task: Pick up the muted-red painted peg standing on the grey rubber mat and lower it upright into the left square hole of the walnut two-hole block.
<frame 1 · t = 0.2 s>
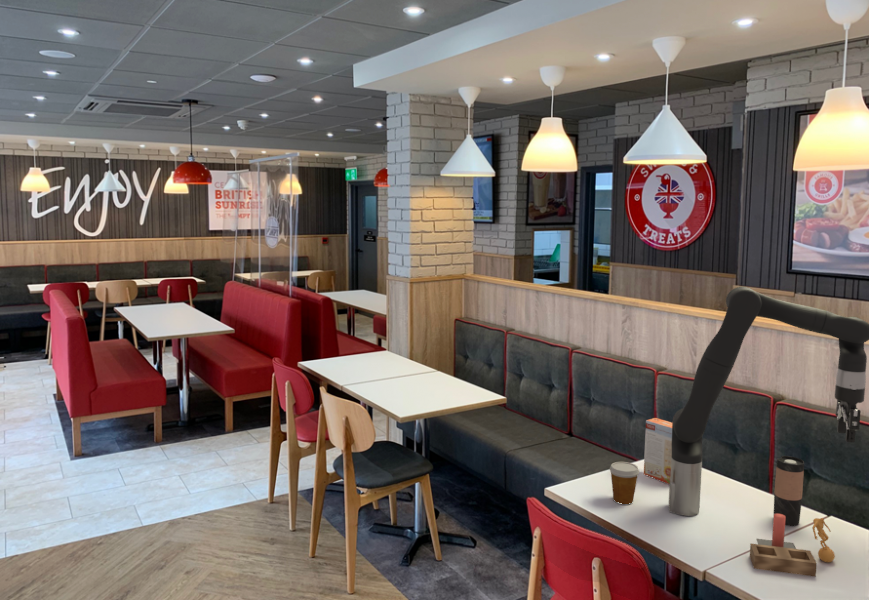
hand: (845, 437, 205), 29 cm above the table, fingers open, 8 cm apart
disposable coffee cup: (623, 501, 229), on the table
cracker box: (664, 479, 247), on the table
figurine: (822, 560, 190), on the table
travel mug: (786, 522, 213), on the table
hole block: (781, 566, 187), on the table
mat: (777, 548, 197), on the table
peg: (777, 547, 197), resting on mat
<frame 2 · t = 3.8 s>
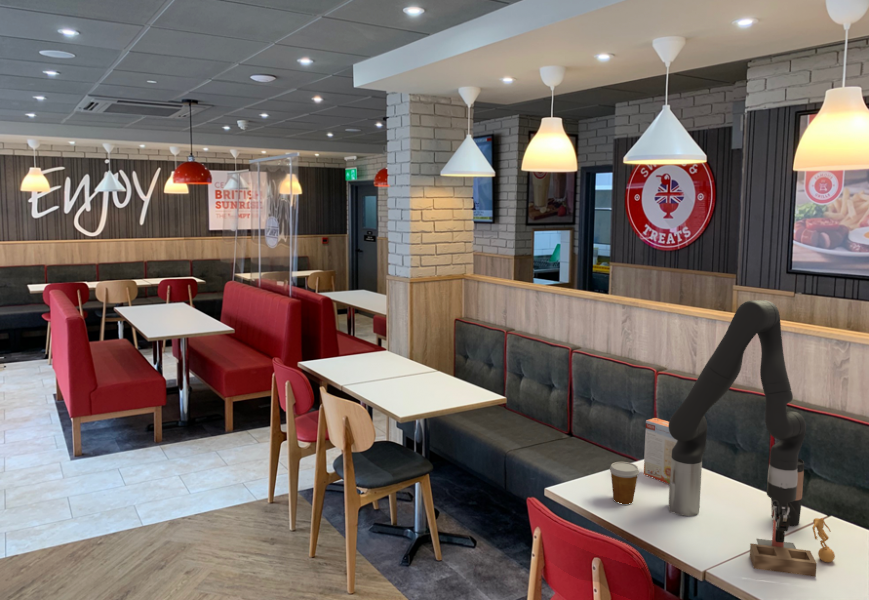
hand: (778, 538, 196), 3 cm above the table, fingers closed on peg, 3 cm apart
peg: (777, 547, 197), resting on mat, touching gripper
everything else where it was.
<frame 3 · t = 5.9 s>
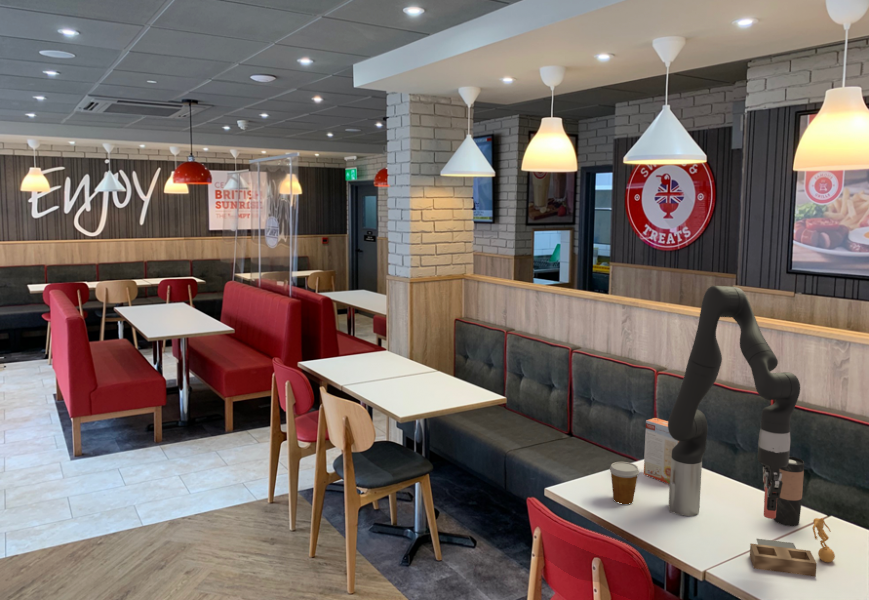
hand: (769, 507, 186), 17 cm above the table, fingers closed on peg, 3 cm apart
peg: (769, 516, 186), point 14 cm above the table, touching gripper
everything else where it was.
when the fingers open (5 cm above the table, at t = 7.9 s): peg drops 2 cm, resting in hole block.
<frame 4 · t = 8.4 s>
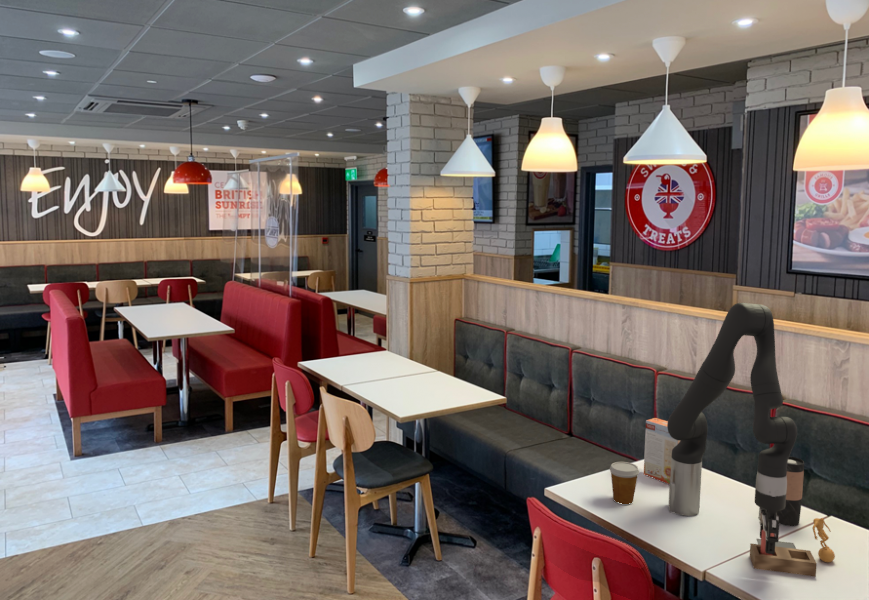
hand: (766, 545, 187), 6 cm above the table, fingers open, 8 cm apart
peg: (765, 564, 188), resting in hole block
everything else where it was.
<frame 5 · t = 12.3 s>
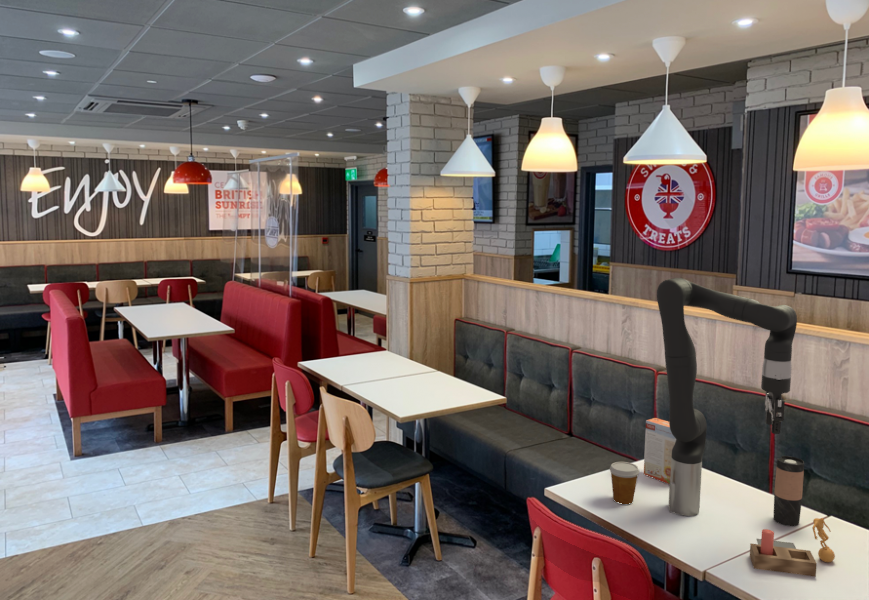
hand: (772, 428, 200), 33 cm above the table, fingers open, 8 cm apart
nothing on the table moved.
at the end: peg 0.2 cm from the target spot on the hole block, point 0.0 cm above the hole block's base; peg tilted 0°; the gripper is holding nothing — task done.
